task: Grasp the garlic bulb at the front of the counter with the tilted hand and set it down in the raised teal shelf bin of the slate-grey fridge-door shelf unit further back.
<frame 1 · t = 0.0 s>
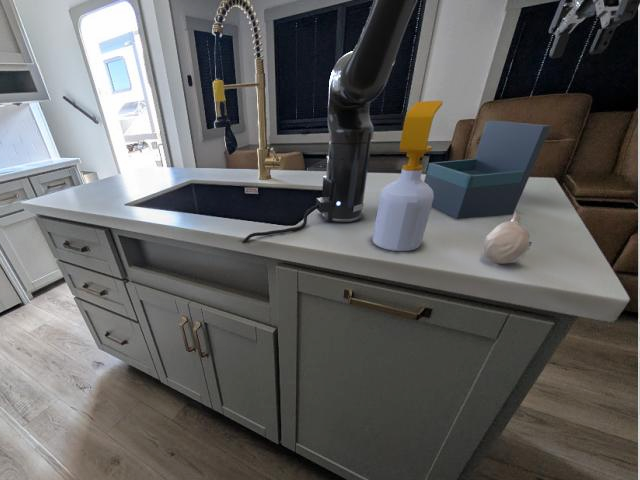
hand: (574, 55, 63), 29 cm above the worktop, tool pointing down, fingers open, 8 cm apart
soap bottle: (395, 243, 64), on the worktop
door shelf: (459, 206, 78), on the worktop
garlic bulb: (497, 261, 55), on the worktop
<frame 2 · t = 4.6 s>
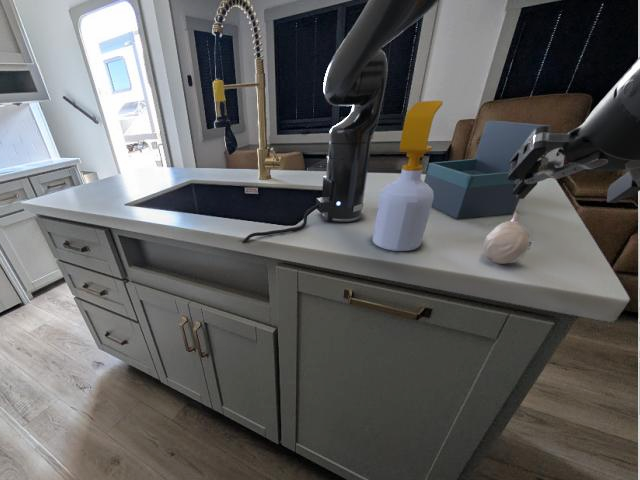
hand: (563, 193, 38), 15 cm above the worktop, tool tilted 45°, fingers open, 8 cm apart
nothing on the worktop moved.
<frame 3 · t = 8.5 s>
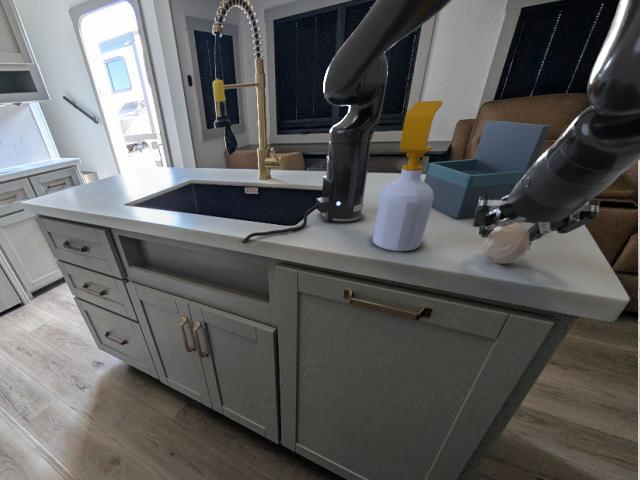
hand: (506, 234, 54), 4 cm above the worktop, tool tilted 45°, fingers closed on garlic bulb, 5 cm apart
garlic bulb: (497, 261, 55), on the worktop, touching gripper
everything else where it was.
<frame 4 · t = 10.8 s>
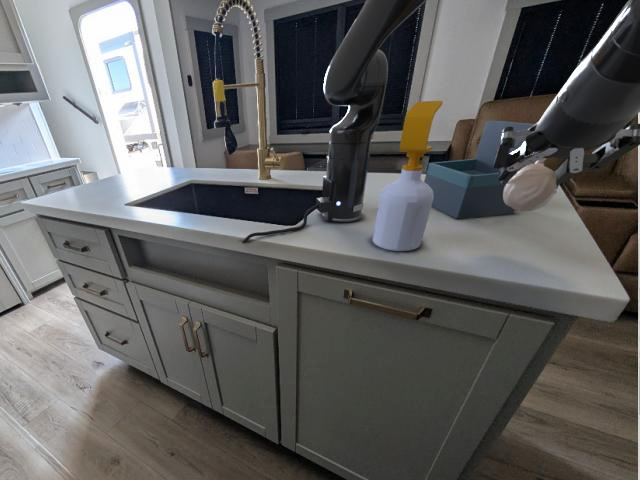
hand: (528, 179, 49), 13 cm above the worktop, tool tilted 45°, fingers closed on garlic bulb, 5 cm apart
garlic bulb: (518, 210, 50), point 9 cm above the worktop, touching gripper
everything else where it was.
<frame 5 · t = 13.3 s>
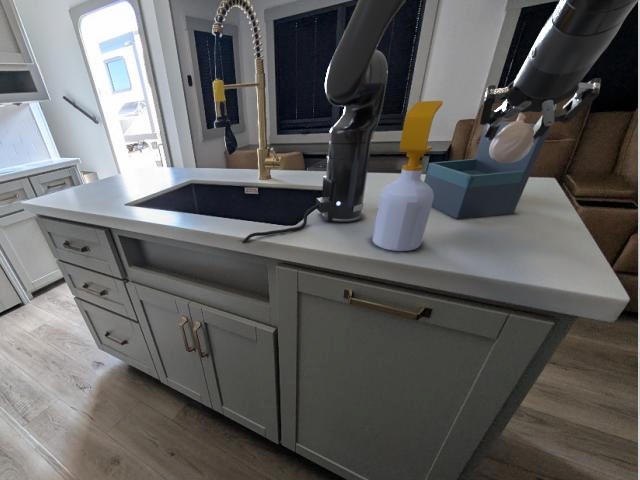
hand: (511, 135, 56), 18 cm above the worktop, tool tilted 45°, fingers closed on garlic bulb, 5 cm apart
garlic bulb: (502, 163, 57), point 13 cm above the worktop, touching gripper
everything else where it was.
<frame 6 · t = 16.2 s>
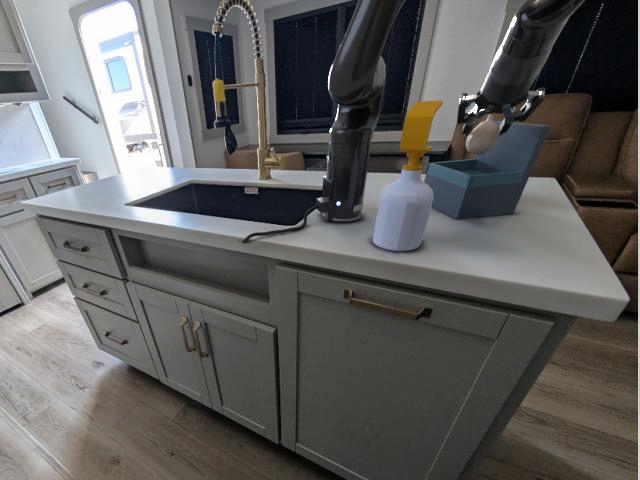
hand: (482, 132, 70), 16 cm above the worktop, tool tilted 45°, fingers closed on garlic bulb, 5 cm apart
garlic bulb: (476, 155, 71), point 12 cm above the worktop, touching gripper
everything else where it was.
when the fingers open (11 cm above the worktop, at t = 18.2 s): garlic bulb stays where it is, resting on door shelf.
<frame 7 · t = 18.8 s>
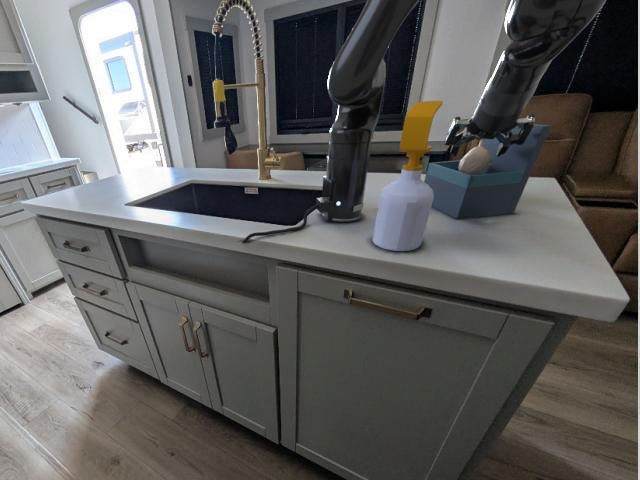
hand: (475, 153, 72), 12 cm above the worktop, tool tilted 45°, fingers open, 8 cm apart
garlic bulb: (469, 178, 74), point 7 cm above the worktop, touching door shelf
everything else where it was.
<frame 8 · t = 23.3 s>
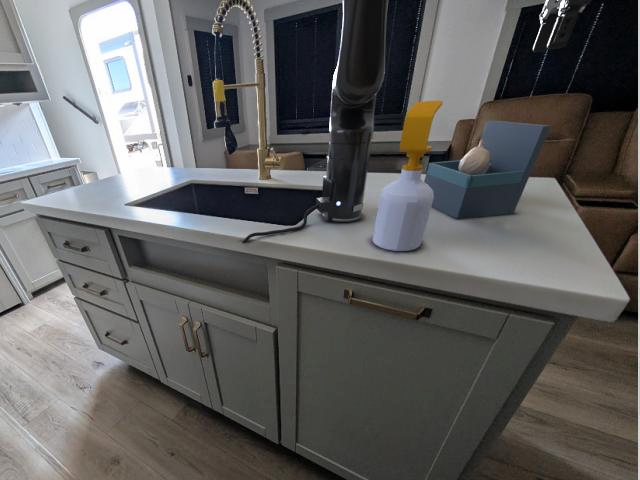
hand: (547, 50, 50), 30 cm above the worktop, tool pointing down, fingers open, 8 cm apart
nothing on the worktop moved.
at the end: garlic bulb inside the target area on the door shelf (0.4 cm from its centre), point 6.8 cm above the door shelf's base; the gripper is holding nothing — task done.
